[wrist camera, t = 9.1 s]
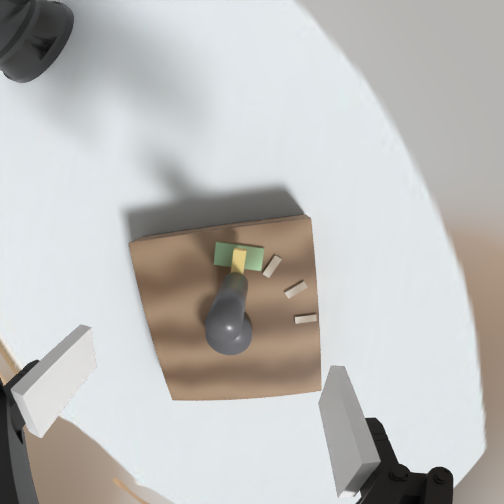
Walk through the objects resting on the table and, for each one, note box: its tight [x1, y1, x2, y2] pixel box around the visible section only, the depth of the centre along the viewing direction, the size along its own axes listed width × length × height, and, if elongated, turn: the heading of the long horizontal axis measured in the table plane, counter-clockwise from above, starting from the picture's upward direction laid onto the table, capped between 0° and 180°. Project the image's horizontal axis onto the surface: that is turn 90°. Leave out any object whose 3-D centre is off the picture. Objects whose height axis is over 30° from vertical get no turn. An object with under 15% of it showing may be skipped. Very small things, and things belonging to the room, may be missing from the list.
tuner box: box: [129, 215, 321, 400], centre depth 35 cm, size 22×20×4 cm
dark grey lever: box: [205, 247, 253, 355], centre depth 26 cm, size 5×12×11 cm, turn 172°
